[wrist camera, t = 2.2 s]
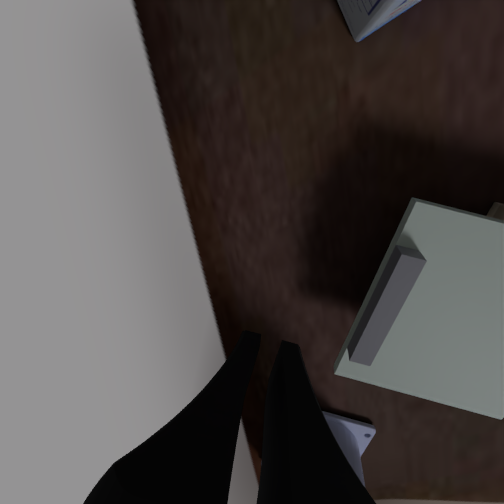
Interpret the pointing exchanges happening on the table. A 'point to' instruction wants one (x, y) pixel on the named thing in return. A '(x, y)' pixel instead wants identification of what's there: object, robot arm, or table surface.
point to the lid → (435, 312)
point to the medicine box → (371, 14)
